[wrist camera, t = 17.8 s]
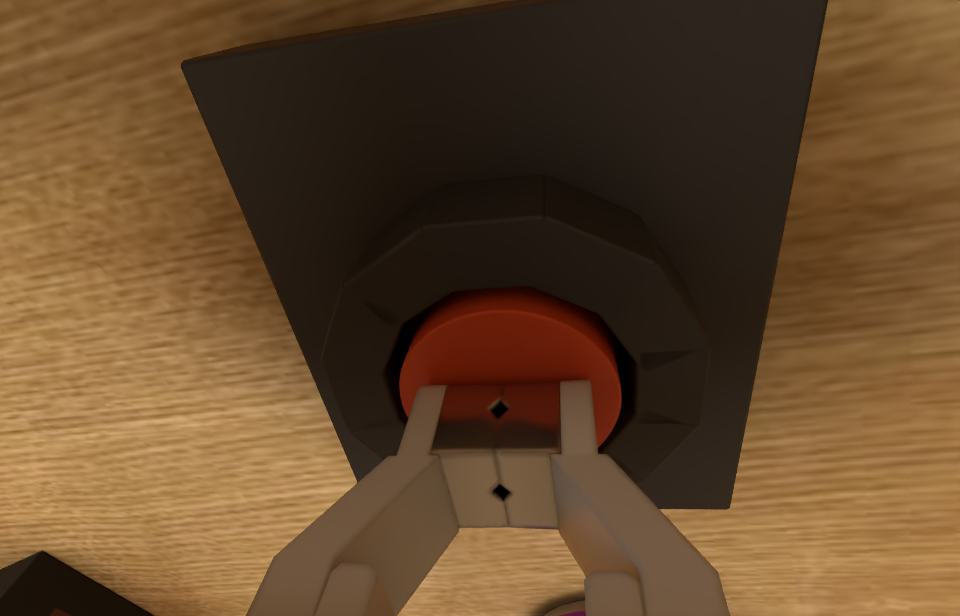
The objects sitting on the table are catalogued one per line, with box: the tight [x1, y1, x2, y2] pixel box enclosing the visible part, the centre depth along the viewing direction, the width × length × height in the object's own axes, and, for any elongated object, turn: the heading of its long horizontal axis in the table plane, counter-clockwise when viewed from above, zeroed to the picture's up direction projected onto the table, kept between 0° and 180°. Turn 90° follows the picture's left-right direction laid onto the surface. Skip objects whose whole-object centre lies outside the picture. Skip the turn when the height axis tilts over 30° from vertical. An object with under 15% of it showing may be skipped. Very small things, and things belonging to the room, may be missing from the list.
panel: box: [181, 0, 828, 510], centre depth 11 cm, size 12×10×4 cm
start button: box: [399, 286, 622, 448], centre depth 10 cm, size 4×4×2 cm
